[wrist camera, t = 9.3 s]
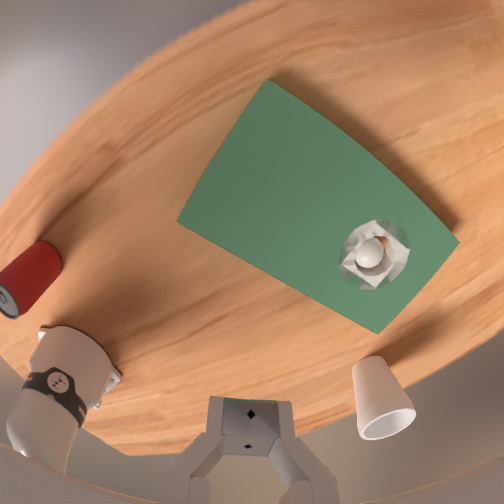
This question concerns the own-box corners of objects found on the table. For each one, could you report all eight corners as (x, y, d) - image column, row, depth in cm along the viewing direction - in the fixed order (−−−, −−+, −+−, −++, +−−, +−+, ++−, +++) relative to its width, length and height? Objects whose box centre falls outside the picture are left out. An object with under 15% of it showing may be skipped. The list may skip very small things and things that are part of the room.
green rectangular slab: (371, 322, 43) (377, 334, 40) (182, 212, 35) (176, 221, 32) (448, 233, 36) (459, 242, 33) (265, 81, 28) (266, 78, 25)
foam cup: (333, 376, 48) (347, 436, 37) (368, 343, 45) (392, 404, 33) (368, 387, 50) (384, 441, 39) (401, 357, 47) (426, 412, 35)
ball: (341, 256, 35) (367, 259, 32) (352, 229, 36) (378, 229, 33) (358, 271, 37) (382, 275, 34) (368, 245, 38) (392, 246, 35)
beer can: (46, 231, 36) (-3, 272, 25) (70, 267, 38) (28, 315, 28) (26, 250, 37) (-18, 290, 26) (49, 282, 40) (10, 328, 29)
